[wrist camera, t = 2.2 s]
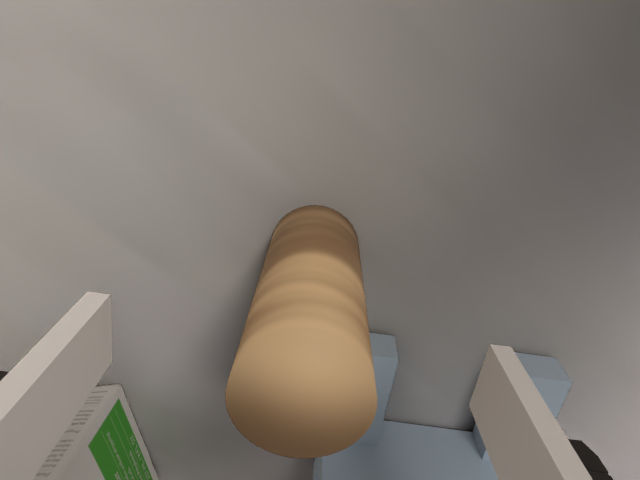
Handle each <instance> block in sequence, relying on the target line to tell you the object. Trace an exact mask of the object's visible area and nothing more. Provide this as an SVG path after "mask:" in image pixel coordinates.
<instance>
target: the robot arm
mask: <svg viewBox="0 0 640 480" xmlns="http://www.w3.org/2000/svg"><path fill="white" fill-rule="evenodd" d="M112 361H113V355H112V325H111V295H110V294H102V293H95V292H87V293H86V294H85V295H84V296H83V297H82V298H81V299H80V300H79V301H78V302H77V303H76V304H75V305H74V306H73V307H72V308H71V309H70V310H69V311H68V312H67V313H66V314H65V315H64V316H63V317H62V318H61V319H60V320H59V321H58V322H57V323H56V324H55V325H54V327H53V328H52V329H51V330H50V331H49V332H48V333H47V334H46V335H45V336H44V337H43V338H42V339H41V340H40V341H39V342H38V343H37V344H36V345H35V346H34V347H33V348H32V349H31V350H30V351H29V352H28V353H27V354H26V355H25V356H24V357H23V358H22V359H21V360H20V361H19V362H18V364H17V365H16V366H15V367H14V368H13V369H12V370H11V371H10V372H4V371H0V480H32V479H33V478H34V476H35V475H36V473H37V472H38V471H39V469H40V468H41V466H42V465H43V463H44V462H45V460H46V459H47V457H48V456H49V454H50V453H51V451H52V450H53V448H54V447H55V445H56V444H57V443H58V441H59V440H60V438H61V437H62V435H63V434H64V432H65V431H66V429H67V428H68V426H69V425H70V423H71V422H72V420H73V419H74V417H75V416H76V415H77V413H78V412H79V410H80V409H81V407H82V406H83V404H84V403H85V401H86V400H87V398H88V397H89V395H90V394H91V392H92V391H93V389H94V388H95V387H96V385H97V384H98V382H99V381H100V379H101V378H102V376H103V375H104V373H105V372H106V370H107V369H108V367H109V366H110V364H111V363H112ZM469 407H470V409H471V412H472V414H473V417H474V419H475V422H476V425H477V427H478V430H479V432H480V435H481V437H482V440H483V442H484V445H485V447H486V450H487V452H488V455H489V457H490V460H491V462H492V465H493V467H494V470H495V472H496V475H497V478H498V480H613V479H612V477H611V476H609V475H608V471H607V470H606V468H605V467H604V465H603V464H602V462H601V460H600V459H599V457H598V456H597V455H596V454H595V453H594V452H593V451H592V450H591V449H589V448H588V447H587V446H586V445H585V444H584V443H583V442H582V441H579V440H571V439H567V437H566V435H565V434H564V432H563V430H562V429H561V427H560V426H559V424H558V422H557V421H556V419H555V417H554V416H553V414H552V413H551V411H550V409H549V408H548V406H547V404H546V403H545V401H544V400H543V398H542V396H541V395H540V393H539V391H538V390H537V388H536V386H535V385H534V383H533V382H532V380H531V378H530V377H529V375H528V373H527V372H526V370H525V369H524V367H523V365H522V364H521V362H520V360H519V359H518V357H517V356H516V354H515V352H514V351H513V349H512V347H509V346H501V345H494V344H490V345H489V348H488V351H487V354H486V357H485V360H484V363H483V365H482V368H481V371H480V374H479V377H478V380H477V383H476V386H475V389H474V392H473V395H472V398H471V401H470V404H469Z"/></svg>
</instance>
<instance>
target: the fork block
mask: <svg viewBox="0 0 640 480" xmlns="http://www.w3.org/2000/svg"><path fill="white" fill-rule="evenodd" d="M369 334H370V343H371V351H372V359H373V367H374V375H375V383H376V391H377V410H376V414H375V417H374V420H373V422H372V424H371V426H370V427H369V429H368V430H367V431H366V433H365V434H364V435H363V436H362V437H361V438H360V439H359V440H358V441H356V442H355V443H354V444H352V445H351V446H349V447H348V448H346V449H344V450H342V451H339V452H337V453H334V454H331V455H328V456H323V457H317V458H315V460H314V466H313V480H498V478H497V475H496V472H495V470H494V467H493V465H492V462H491V460H490V457H489V455H488V452H487V450H486V447H485V445H484V442H483V440H482V437H481V435H480V432H479V430H478V427H477V425H476V423H475V426H474V429H473V432H469V431H461V430H453V429H446V428H438V427H430V426H422V425H415V424H407V423H399V422H391V421H384V420H383V419H384V415H385V411H386V408H387V404H388V400H389V396H390V392H391V388H392V384H393V381H394V377H395V373H396V369H397V365H398V361H399V356H398V351H397V347H396V342H395V337H394V336H392V335H384V334H377V333H369ZM515 354H516V356H517V357H518V359H519V360H520V362H521V364H522V365H523V367H524V369H525V370H526V372H527V373H528V375H529V377H530V378H531V380H532V382H533V383H534V385H535V386H536V388H537V390H538V391H539V393H540V395H541V396H542V398H543V400H544V401H545V403H546V404H547V406H548V408H549V409H550V411H551V413H552V414H553V416H554V417H555V419H556V418H557V416H558V413H559V411H560V409H561V407H562V405H563V402H564V400H565V398H566V396H567V394H568V391H569V389H570V387H571V385H572V383H573V382H572V381H571V379H570V378H569V376H568V375H567V374H566V372H565V371H564V369H563V368H562V366H561V365H560V364H559V362H558V361H557V359H556V358H554V357H546V356H539V355H532V354H524V353H517V352H515Z"/></svg>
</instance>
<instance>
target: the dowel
mask: <svg viewBox="0 0 640 480" xmlns="http://www.w3.org/2000/svg"><path fill="white" fill-rule="evenodd" d="M225 402H226V407H227V411H228V414H229V416H230V418H231V420H232V422H233V424H234V425H235V427H236V428H237V429H238V431H239V432H240V433H241V434H242V435H243V436H244V437H245V438H247V439H248V440H249V441H250V442H252V443H253V444H255V445H256V446H258V447H260V448H262V449H264V450H266V451H269V452H271V453H274V454H277V455H281V456H285V457H291V458H317V457H323V456H328V455H331V454H334V453H337V452H339V451H342V450H344V449H346V448H348V447H349V446H351V445H352V444H354V443H355V442H356V441H358V440H359V439H360V438H361V437H362V436H363V435H364V434H365V433H366V431H367V430H368V429H369V427H370V426H371V424H372V422H373V420H374V417H375V414H376V410H377V391H376V383H375V375H374V367H373V359H372V351H371V343H370V334H369V326H368V318H367V310H366V302H365V294H364V286H363V278H362V269H361V261H360V253H359V245H358V238H357V235H356V232H355V230H354V228H353V226H352V224H351V223H350V222H349V221H348V220H347V218H345V217H344V216H343V215H342V214H340V213H339V212H337V211H335V210H333V209H331V208H328V207H324V206H316V205H314V206H304V207H301V208H298V209H295V210H293V211H291V212H290V213H288V214H287V215H286V216H284V217H283V218H282V219H281V220H280V221H279V223H278V224H277V226H276V228H275V230H274V232H273V235H272V239H271V242H270V245H269V248H268V252H267V255H266V258H265V261H264V265H263V268H262V271H261V275H260V278H259V281H258V284H257V288H256V291H255V294H254V297H253V301H252V304H251V307H250V310H249V314H248V317H247V320H246V324H245V327H244V330H243V333H242V337H241V340H240V343H239V346H238V350H237V353H236V356H235V359H234V363H233V366H232V369H231V373H230V376H229V379H228V382H227V386H226V392H225Z"/></svg>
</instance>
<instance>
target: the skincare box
mask: <svg viewBox="0 0 640 480" xmlns="http://www.w3.org/2000/svg"><path fill="white" fill-rule="evenodd" d="M32 480H158V476H157V473H156V471H155V468H154V467H153V465H152V462H151V459H150V456H149V453H148V450H147V448H146V446H145V443H144V441H143V439H142V436H141V434H140V431H139V429H138V426H137V424H136V422H135V419H134V417H133V414H132V412H131V409H130V407H129V404H128V402H127V399H126V396H125V394H124V391H123V389H122V387H121V385H120V384H112V385H104V386H96V387H95V388H94V389H93V391H92V392H91V394H90V395H89V397H88V398H87V400H86V401H85V403H84V404H83V406H82V407H81V409H80V410H79V412H78V413H77V415H76V416H75V417H74V419H73V420H72V422H71V423H70V425H69V426H68V428H67V429H66V431H65V432H64V434H63V435H62V437H61V438H60V440H59V441H58V443H57V444H56V445H55V447H54V448H53V450H52V451H51V453H50V454H49V456H48V457H47V459H46V460H45V462H44V463H43V465H42V466H41V468H40V469H39V471H38V472H37V473H36V475H35V476H34V478H33V479H32Z"/></svg>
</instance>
